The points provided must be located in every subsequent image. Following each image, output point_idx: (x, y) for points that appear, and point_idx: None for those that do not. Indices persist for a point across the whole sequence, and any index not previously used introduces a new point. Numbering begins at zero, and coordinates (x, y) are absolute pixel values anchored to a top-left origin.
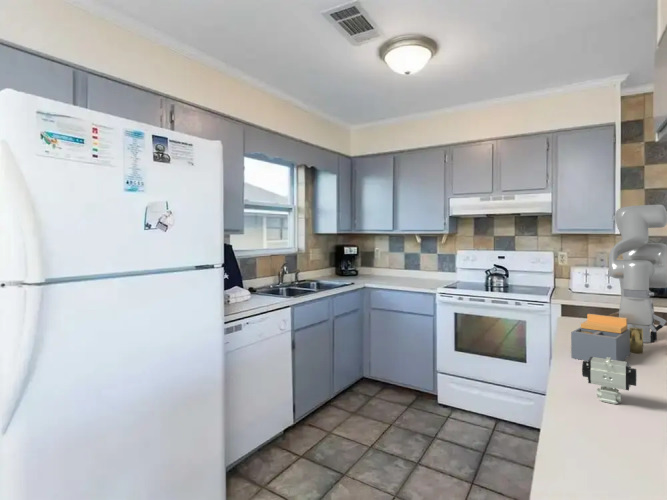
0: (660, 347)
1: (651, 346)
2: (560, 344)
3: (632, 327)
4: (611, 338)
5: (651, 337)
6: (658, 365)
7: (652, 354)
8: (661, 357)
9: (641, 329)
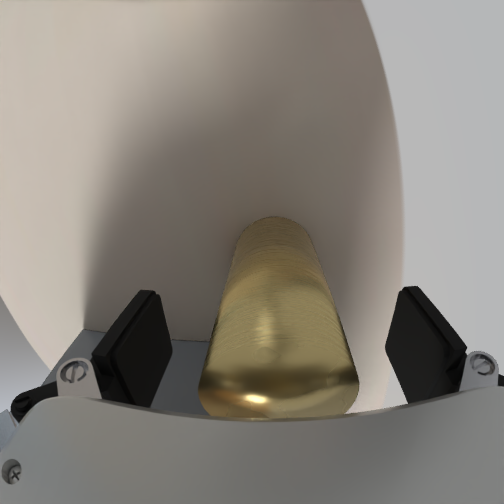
0: (361, 12)
1: (312, 15)
2: (26, 332)
3: (223, 380)
4: None
5: (403, 377)
6: (377, 394)
7: (362, 243)
8: (402, 277)
9: (342, 409)
